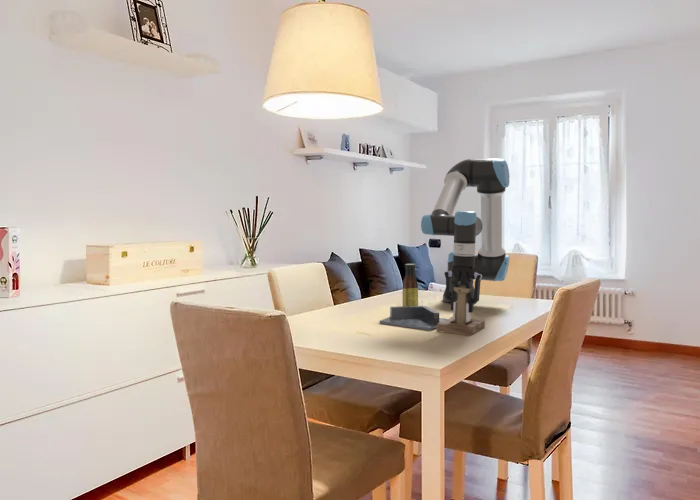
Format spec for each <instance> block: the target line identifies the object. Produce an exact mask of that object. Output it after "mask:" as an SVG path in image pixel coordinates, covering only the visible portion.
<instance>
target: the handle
mask: <svg viewBox="0 0 700 500" xmlns="http://www.w3.org/2000/svg"><path fill="white" fill-rule="evenodd" d="M454 291H455V292H457V293H458V299H457V309H456V323H457V324H461V325H466V323H467V322H466V304H467V293H469V292H470V291H472V288H470V289H468V288H466V287H465V286H459V287H454Z"/></svg>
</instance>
